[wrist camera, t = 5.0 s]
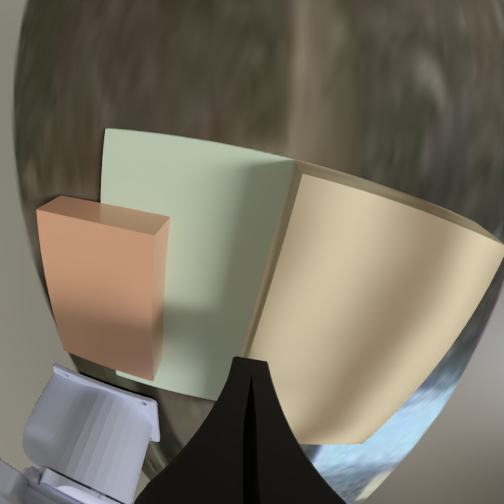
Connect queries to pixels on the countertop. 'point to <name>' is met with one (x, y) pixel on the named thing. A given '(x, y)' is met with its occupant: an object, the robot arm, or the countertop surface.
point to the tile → (106, 281)
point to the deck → (361, 300)
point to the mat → (200, 242)
